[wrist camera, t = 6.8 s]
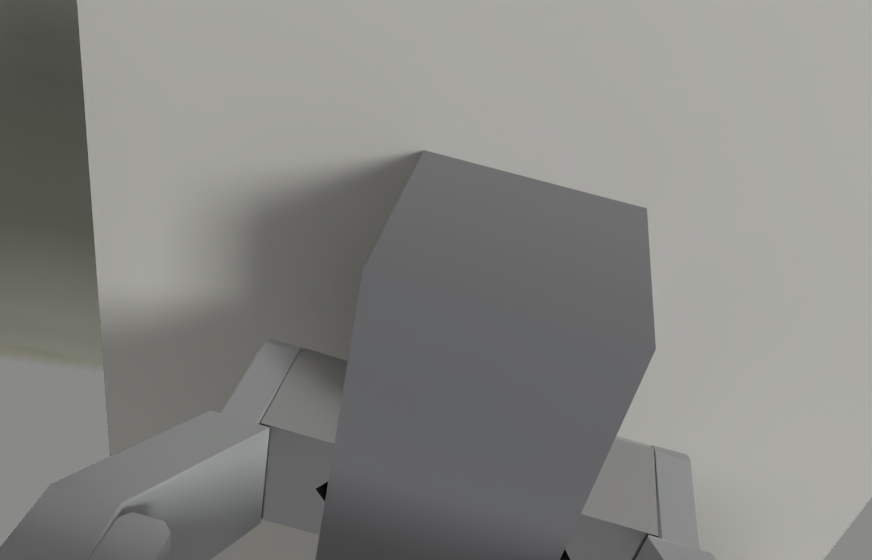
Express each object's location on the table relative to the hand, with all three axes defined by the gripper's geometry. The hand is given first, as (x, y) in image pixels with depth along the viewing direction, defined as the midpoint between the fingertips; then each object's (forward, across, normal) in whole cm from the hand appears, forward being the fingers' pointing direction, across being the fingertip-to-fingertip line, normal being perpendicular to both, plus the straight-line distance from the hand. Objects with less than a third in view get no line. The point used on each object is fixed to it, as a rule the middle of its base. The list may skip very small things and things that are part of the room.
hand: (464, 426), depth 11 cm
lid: (+4, 0, 0) cm, 4 cm away
